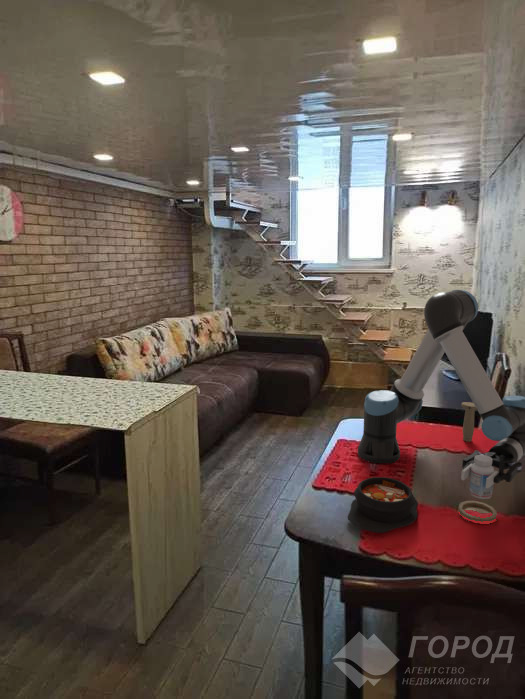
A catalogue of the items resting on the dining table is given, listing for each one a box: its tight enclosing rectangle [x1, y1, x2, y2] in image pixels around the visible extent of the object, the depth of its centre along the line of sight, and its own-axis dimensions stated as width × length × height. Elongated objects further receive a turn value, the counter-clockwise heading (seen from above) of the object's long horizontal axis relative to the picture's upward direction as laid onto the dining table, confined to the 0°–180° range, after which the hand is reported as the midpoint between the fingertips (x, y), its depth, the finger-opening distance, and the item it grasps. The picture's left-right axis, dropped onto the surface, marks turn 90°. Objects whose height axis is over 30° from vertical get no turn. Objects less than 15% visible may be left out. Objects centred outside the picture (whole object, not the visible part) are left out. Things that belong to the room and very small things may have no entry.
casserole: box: [346, 476, 419, 534], centre depth 140 cm, size 25×19×8 cm
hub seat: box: [457, 500, 498, 522], centre depth 141 cm, size 10×10×2 cm
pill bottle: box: [468, 455, 495, 500], centre depth 138 cm, size 6×6×11 cm
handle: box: [461, 401, 478, 443], centre depth 191 cm, size 5×6×15 cm
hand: (474, 479), depth 135 cm, fingers closed on pill bottle, 6 cm apart
